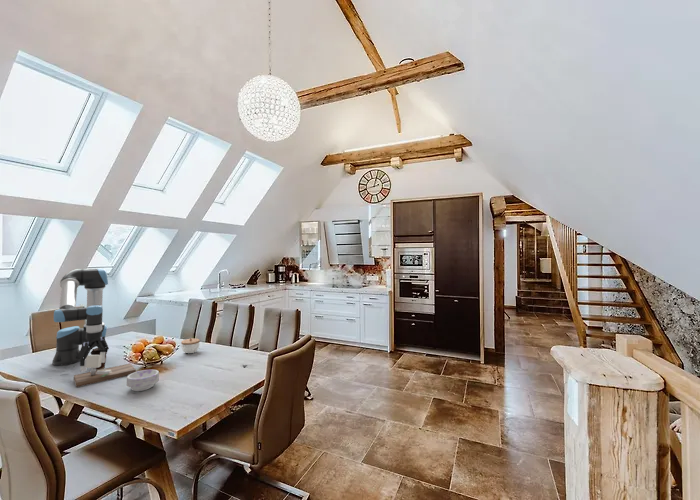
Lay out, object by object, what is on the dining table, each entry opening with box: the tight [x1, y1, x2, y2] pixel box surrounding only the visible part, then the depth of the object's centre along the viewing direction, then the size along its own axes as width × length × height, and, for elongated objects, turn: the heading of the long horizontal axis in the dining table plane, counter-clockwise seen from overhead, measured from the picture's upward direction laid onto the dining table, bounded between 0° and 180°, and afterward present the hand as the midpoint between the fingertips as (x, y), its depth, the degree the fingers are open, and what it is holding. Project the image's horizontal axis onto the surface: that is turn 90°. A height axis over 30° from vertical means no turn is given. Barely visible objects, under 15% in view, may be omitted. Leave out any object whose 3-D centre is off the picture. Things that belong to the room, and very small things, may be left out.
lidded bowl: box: [181, 337, 201, 354], centre depth 234 cm, size 13×13×11 cm
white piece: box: [85, 354, 110, 375], centre depth 184 cm, size 2×12×12 cm, turn 98°
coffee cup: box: [90, 347, 108, 370], centre depth 200 cm, size 9×8×13 cm
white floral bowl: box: [126, 369, 160, 392], centre depth 174 cm, size 15×15×8 cm
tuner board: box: [73, 363, 137, 388], centre depth 188 cm, size 15×28×3 cm, turn 137°
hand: (93, 366), depth 184 cm, fingers open, 13 cm apart
